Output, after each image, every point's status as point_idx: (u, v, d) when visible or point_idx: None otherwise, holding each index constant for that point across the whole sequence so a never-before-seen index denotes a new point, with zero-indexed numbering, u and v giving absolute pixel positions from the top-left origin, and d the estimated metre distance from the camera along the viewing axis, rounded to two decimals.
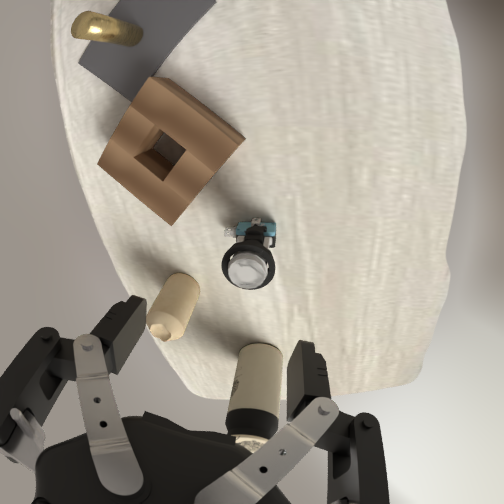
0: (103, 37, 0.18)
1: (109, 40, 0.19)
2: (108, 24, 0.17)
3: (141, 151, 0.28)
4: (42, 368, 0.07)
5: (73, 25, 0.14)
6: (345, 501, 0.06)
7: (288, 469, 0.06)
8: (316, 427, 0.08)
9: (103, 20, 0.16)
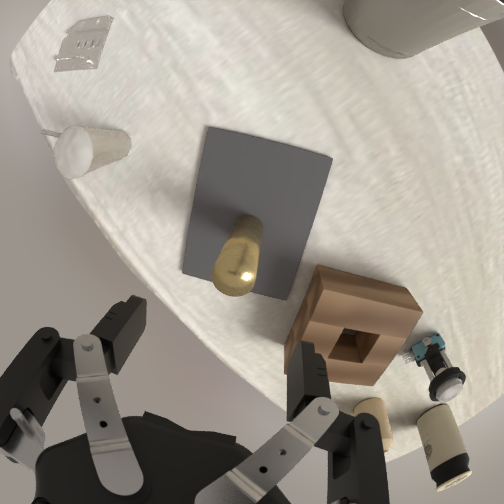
0: None
1: None
2: (256, 256, 0.21)
3: None
4: (42, 368, 0.07)
5: (215, 279, 0.19)
6: (345, 501, 0.06)
7: (288, 469, 0.06)
8: (316, 427, 0.08)
9: (253, 257, 0.20)
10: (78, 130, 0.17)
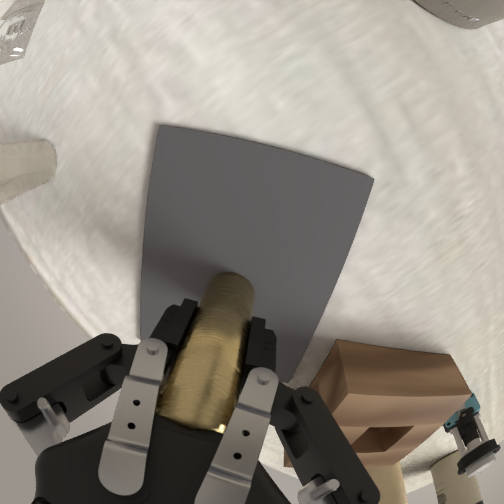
0: None
1: None
2: (236, 384, 0.10)
3: None
4: (90, 372, 0.08)
5: None
6: (320, 478, 0.07)
7: (259, 447, 0.07)
8: (263, 398, 0.09)
9: (228, 396, 0.09)
10: None
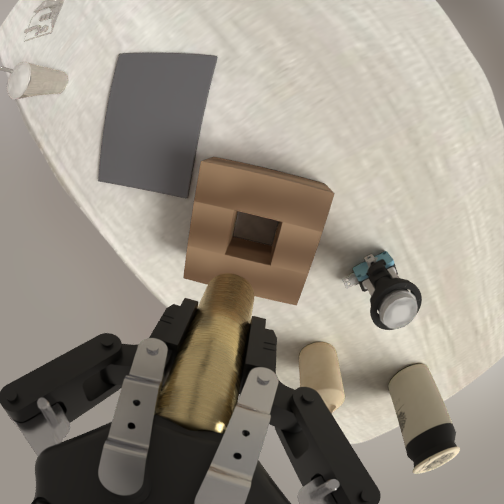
0: None
1: None
2: (235, 385, 0.10)
3: (228, 244, 0.28)
4: (90, 372, 0.08)
5: None
6: (320, 478, 0.07)
7: (259, 447, 0.07)
8: (263, 398, 0.09)
9: (227, 397, 0.09)
10: (23, 63, 0.16)
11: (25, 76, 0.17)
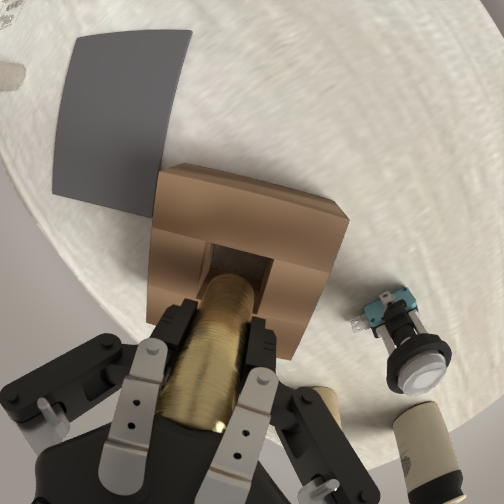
0: None
1: None
2: (235, 385, 0.10)
3: (201, 283, 0.21)
4: (90, 372, 0.08)
5: None
6: (320, 478, 0.07)
7: (259, 447, 0.07)
8: (263, 398, 0.09)
9: (227, 397, 0.09)
10: None
11: None
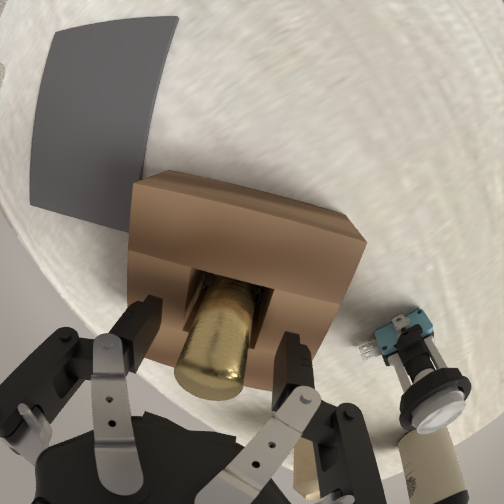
0: None
1: None
2: (246, 337, 0.13)
3: (189, 311, 0.17)
4: (57, 367, 0.08)
5: (180, 379, 0.11)
6: (338, 493, 0.06)
7: (280, 461, 0.06)
8: (301, 416, 0.09)
9: (240, 344, 0.12)
10: None
11: None
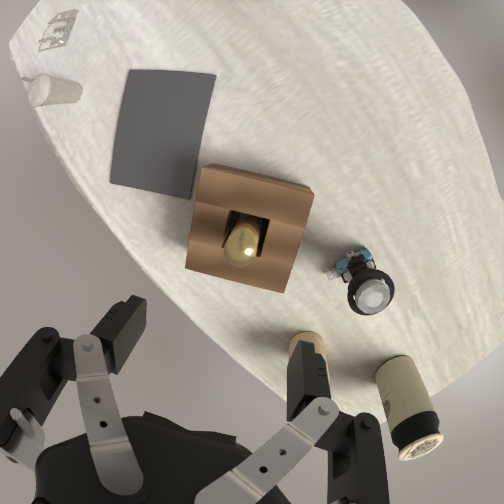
0: None
1: None
2: (256, 238, 0.27)
3: (224, 239, 0.32)
4: (42, 368, 0.07)
5: (226, 254, 0.26)
6: (345, 501, 0.06)
7: (288, 469, 0.06)
8: (316, 427, 0.08)
9: (254, 238, 0.27)
10: (43, 75, 0.21)
11: (45, 87, 0.21)
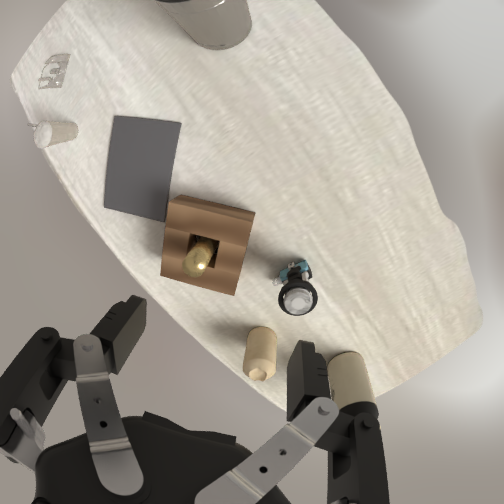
0: None
1: None
2: (207, 255, 0.37)
3: None
4: (42, 368, 0.07)
5: (184, 268, 0.35)
6: (345, 501, 0.06)
7: (288, 469, 0.06)
8: (316, 427, 0.08)
9: (204, 256, 0.36)
10: (45, 122, 0.30)
11: (48, 133, 0.31)
